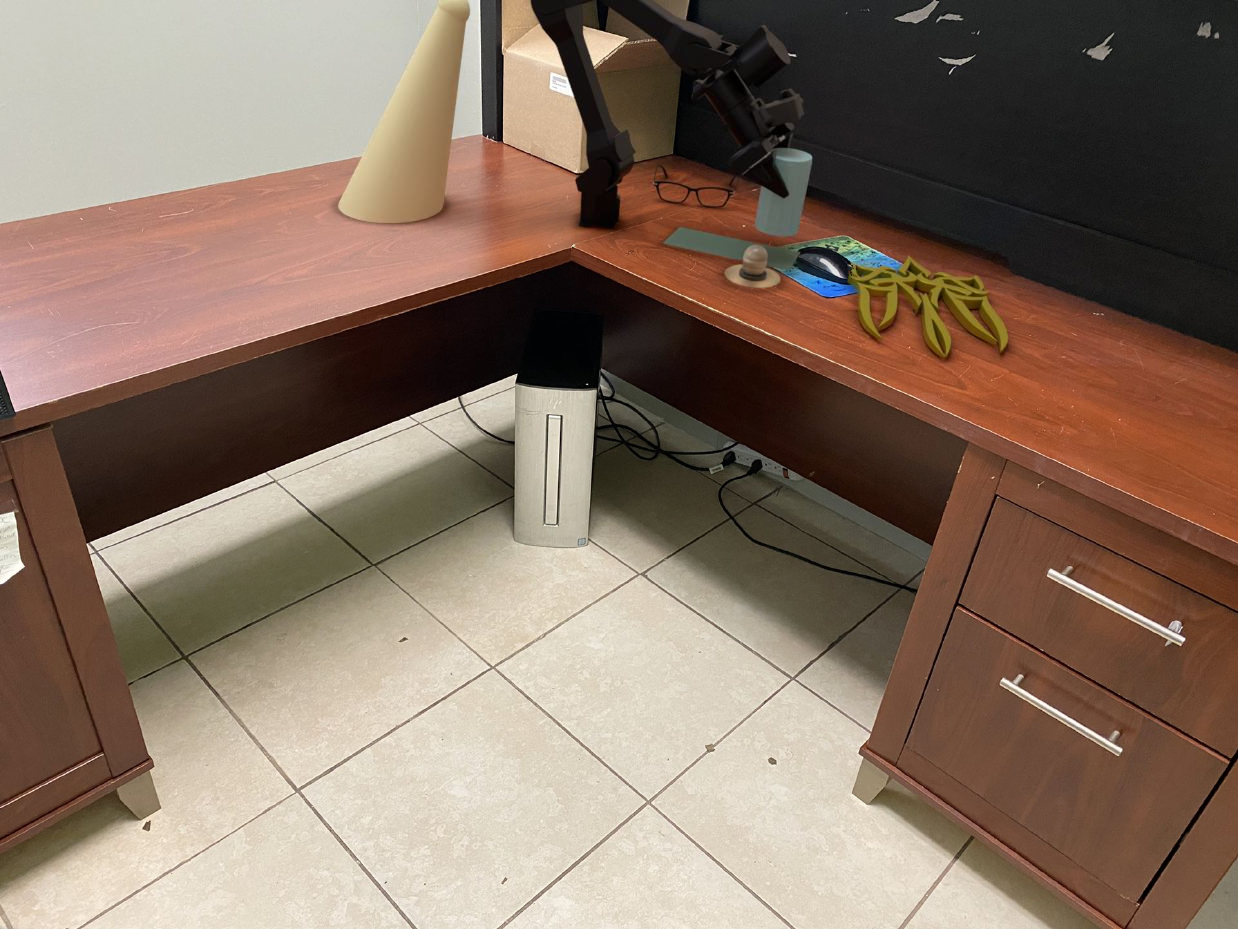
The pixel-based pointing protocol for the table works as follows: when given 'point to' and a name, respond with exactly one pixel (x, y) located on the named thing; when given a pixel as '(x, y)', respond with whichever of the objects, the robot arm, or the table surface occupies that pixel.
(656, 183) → the eyeglasses
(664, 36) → the robot arm
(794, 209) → the tumbler
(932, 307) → the gold ornamental emblem
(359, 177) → the cone light
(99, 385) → the table surface
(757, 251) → the knob on round base
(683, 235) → the mat
